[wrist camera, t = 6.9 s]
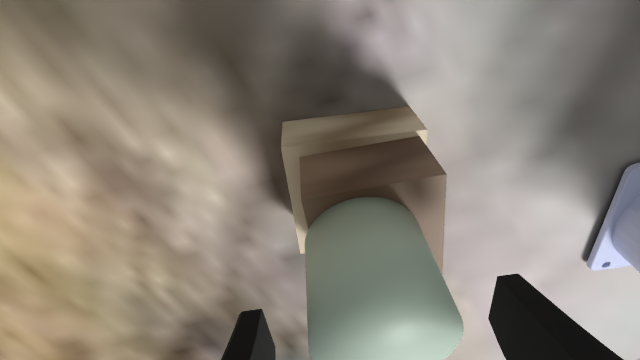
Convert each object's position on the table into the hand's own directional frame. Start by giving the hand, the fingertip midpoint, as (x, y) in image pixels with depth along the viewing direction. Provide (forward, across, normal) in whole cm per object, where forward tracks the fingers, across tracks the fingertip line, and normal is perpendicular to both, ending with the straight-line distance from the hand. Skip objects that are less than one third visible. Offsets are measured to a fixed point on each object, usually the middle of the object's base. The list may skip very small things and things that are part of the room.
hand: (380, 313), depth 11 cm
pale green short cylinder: (+3, 0, 0) cm, 3 cm away
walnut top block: (+6, -1, 0) cm, 6 cm away
